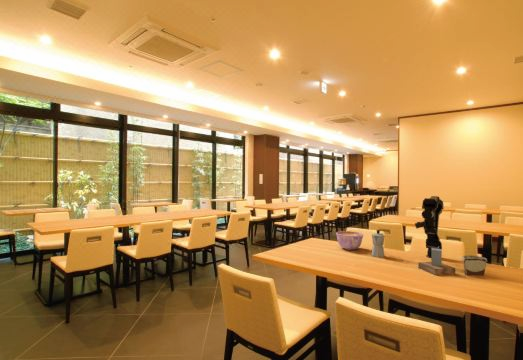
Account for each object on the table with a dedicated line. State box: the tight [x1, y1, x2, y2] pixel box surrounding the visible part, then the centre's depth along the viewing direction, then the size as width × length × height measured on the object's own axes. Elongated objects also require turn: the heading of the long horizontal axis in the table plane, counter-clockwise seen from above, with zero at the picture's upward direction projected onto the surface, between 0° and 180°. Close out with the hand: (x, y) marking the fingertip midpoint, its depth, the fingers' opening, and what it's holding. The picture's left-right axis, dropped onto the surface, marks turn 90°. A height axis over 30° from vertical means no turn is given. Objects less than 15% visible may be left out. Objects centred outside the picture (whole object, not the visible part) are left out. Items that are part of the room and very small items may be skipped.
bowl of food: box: [335, 230, 364, 251], centre depth 220 cm, size 20×20×12 cm
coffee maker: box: [371, 229, 386, 258], centre depth 201 cm, size 15×9×18 cm, turn 137°
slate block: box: [430, 248, 443, 267], centre depth 168 cm, size 5×5×9 cm
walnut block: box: [417, 261, 456, 276], centre depth 168 cm, size 13×13×4 cm
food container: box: [461, 254, 488, 277], centre depth 163 cm, size 12×6×10 cm, turn 84°
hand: (429, 242), depth 185 cm, fingers open, 9 cm apart
